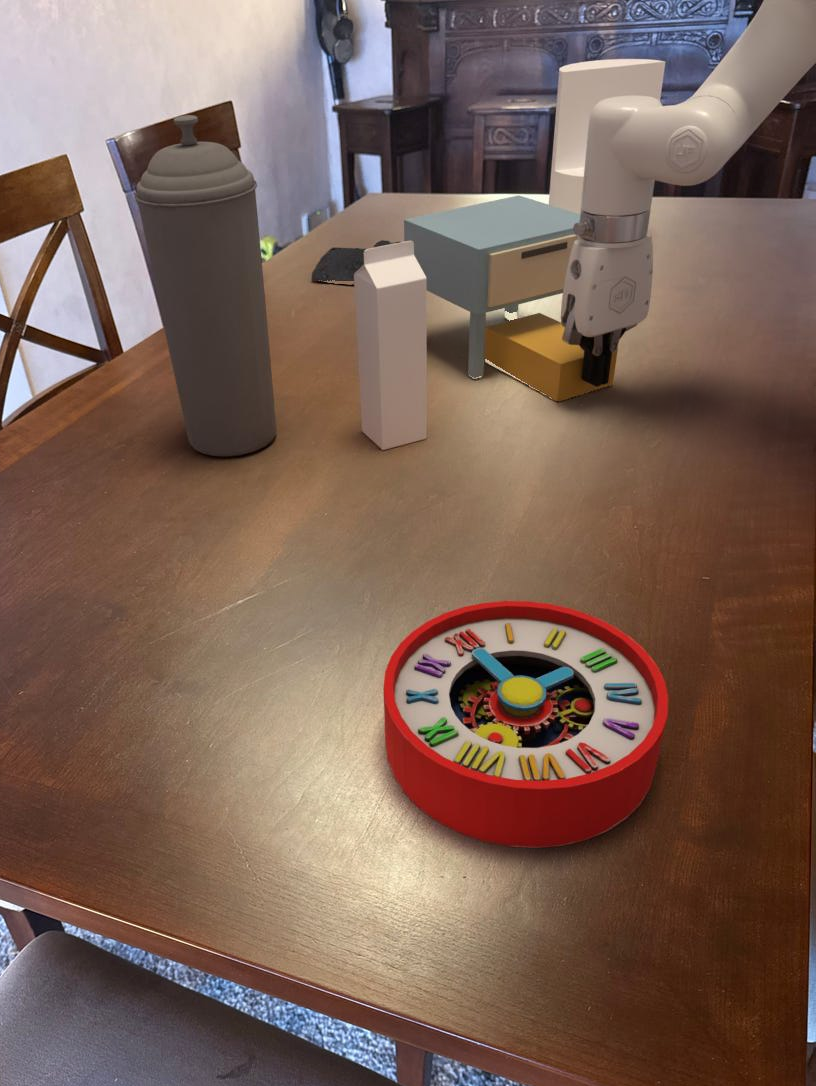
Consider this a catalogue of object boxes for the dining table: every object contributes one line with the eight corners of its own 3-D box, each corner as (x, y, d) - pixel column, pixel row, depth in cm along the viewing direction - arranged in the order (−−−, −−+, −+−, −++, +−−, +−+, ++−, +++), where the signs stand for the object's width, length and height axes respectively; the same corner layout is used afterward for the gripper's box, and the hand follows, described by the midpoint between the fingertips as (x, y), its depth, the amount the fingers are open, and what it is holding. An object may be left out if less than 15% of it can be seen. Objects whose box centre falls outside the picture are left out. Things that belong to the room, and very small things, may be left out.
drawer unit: (591, 352, 125) (606, 222, 114) (477, 384, 119) (482, 250, 108) (511, 314, 138) (518, 195, 127) (405, 342, 132) (403, 219, 121)
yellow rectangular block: (612, 385, 116) (618, 347, 113) (556, 402, 113) (560, 364, 110) (536, 347, 127) (539, 312, 124) (484, 362, 124) (485, 326, 121)
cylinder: (530, 243, 166) (543, 65, 148) (619, 232, 168) (641, 55, 150) (566, 270, 153) (584, 79, 135) (661, 258, 154) (691, 67, 137)
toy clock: (490, 836, 54) (334, 656, 68) (486, 894, 57) (339, 712, 71) (733, 714, 60) (545, 573, 74) (716, 773, 64) (539, 628, 78)
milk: (427, 439, 107) (428, 246, 93) (381, 451, 106) (376, 257, 92) (403, 420, 112) (402, 233, 98) (360, 431, 110) (351, 242, 96)
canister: (211, 474, 104) (153, 134, 82) (165, 436, 112) (101, 119, 90) (303, 441, 109) (272, 112, 87) (253, 407, 117) (212, 100, 95)
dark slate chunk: (335, 257, 167) (333, 230, 164) (449, 262, 160) (450, 234, 157) (304, 283, 156) (302, 255, 153) (425, 290, 149) (425, 260, 146)
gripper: (582, 245, 95) (565, 407, 107) (688, 219, 100) (661, 377, 111) (538, 230, 100) (527, 386, 112) (641, 207, 105) (620, 358, 117)
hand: (594, 381), depth 112 cm, fingers closed
